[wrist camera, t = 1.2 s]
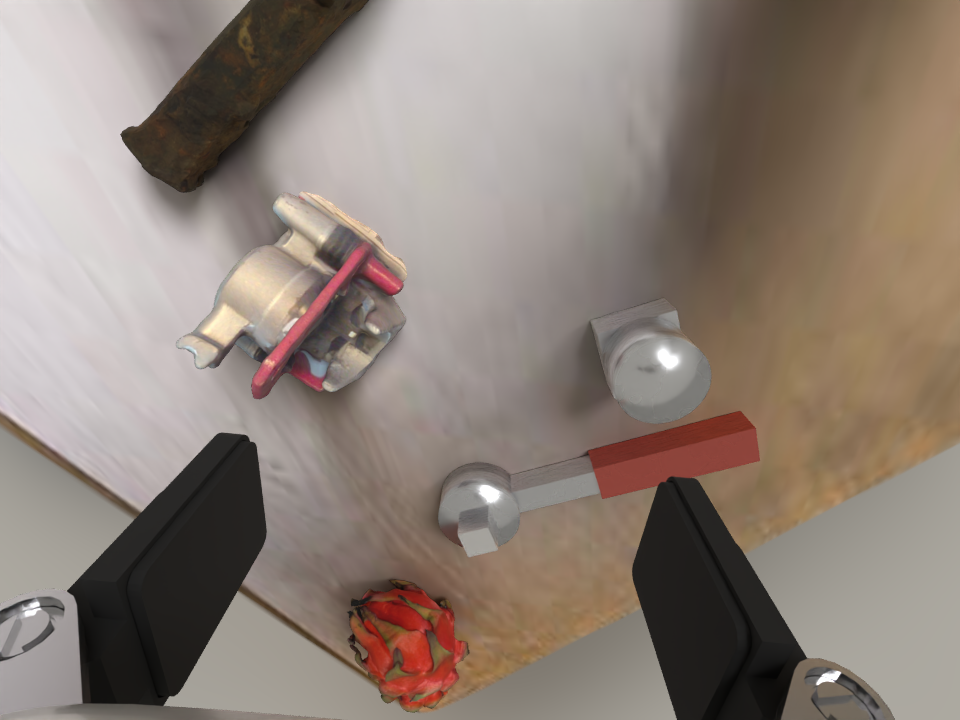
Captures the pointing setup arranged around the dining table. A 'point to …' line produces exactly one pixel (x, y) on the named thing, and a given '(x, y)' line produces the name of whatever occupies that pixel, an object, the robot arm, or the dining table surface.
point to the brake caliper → (306, 301)
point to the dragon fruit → (407, 644)
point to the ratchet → (587, 478)
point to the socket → (651, 362)
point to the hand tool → (231, 86)
